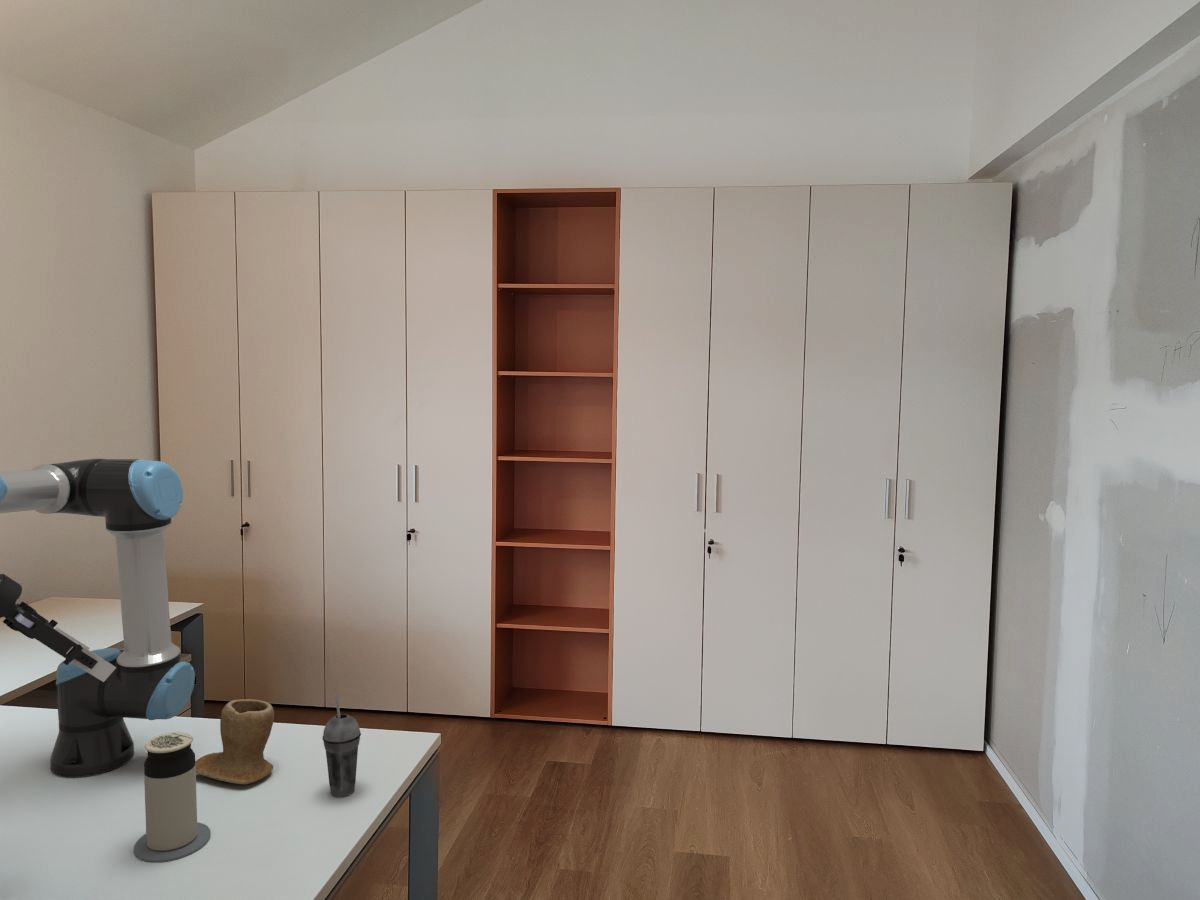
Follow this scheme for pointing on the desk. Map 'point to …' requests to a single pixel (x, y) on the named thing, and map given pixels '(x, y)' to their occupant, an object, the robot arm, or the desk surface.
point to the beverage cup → (341, 752)
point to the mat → (162, 856)
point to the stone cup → (240, 743)
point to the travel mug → (170, 791)
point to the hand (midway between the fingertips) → (96, 664)
